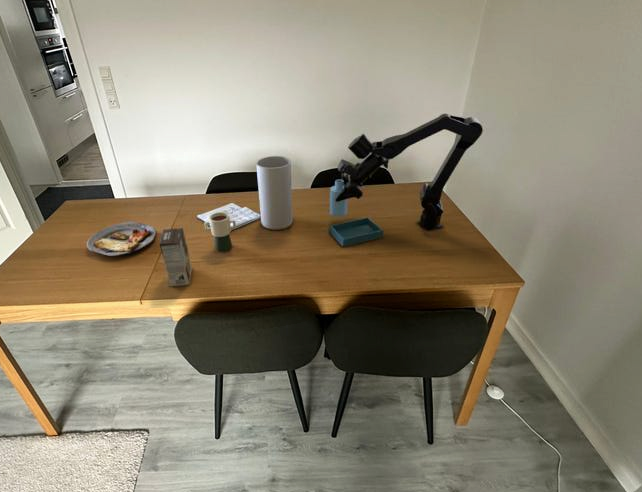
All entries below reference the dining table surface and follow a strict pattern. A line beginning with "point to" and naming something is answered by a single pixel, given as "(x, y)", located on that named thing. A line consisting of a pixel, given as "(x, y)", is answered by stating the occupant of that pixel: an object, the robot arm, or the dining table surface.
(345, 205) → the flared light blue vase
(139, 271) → the dining table surface
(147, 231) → the food plate
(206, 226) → the character mug
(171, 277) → the coffee box
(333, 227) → the teal open tray
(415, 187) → the dining table surface
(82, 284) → the dining table surface
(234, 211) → the white printed square slab
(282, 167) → the cylinder vase
